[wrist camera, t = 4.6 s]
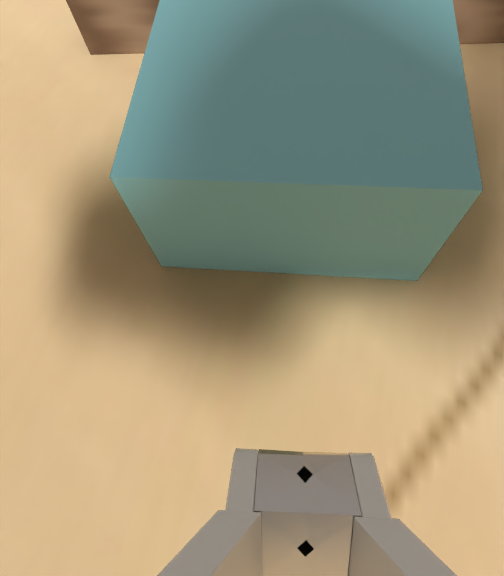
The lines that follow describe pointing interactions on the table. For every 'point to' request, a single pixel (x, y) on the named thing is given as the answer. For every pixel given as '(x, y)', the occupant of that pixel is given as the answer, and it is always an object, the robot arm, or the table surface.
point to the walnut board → (143, 3)
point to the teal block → (300, 136)
